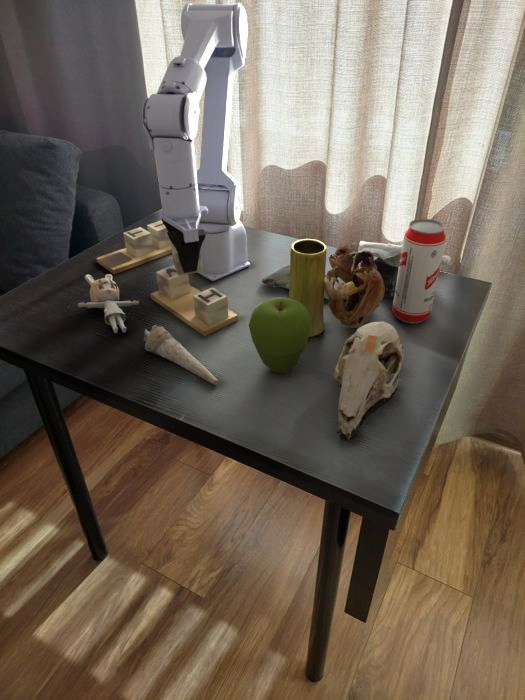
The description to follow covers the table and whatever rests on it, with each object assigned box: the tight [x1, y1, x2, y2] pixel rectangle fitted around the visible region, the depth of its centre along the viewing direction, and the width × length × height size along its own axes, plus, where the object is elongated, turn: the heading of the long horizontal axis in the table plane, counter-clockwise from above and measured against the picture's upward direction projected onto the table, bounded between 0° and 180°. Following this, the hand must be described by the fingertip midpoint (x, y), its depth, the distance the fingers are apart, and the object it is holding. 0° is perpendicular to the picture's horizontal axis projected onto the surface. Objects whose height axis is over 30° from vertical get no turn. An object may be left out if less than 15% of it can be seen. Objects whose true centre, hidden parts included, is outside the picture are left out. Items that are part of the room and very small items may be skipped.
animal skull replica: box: [333, 320, 404, 441], centre depth 68 cm, size 8×17×10 cm, turn 154°
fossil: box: [261, 264, 348, 300], centre depth 95 cm, size 11×5×15 cm
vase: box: [288, 238, 327, 338], centre depth 81 cm, size 6×6×14 cm
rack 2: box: [150, 264, 239, 337], centre depth 89 cm, size 16×7×5 cm, turn 42°
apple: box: [248, 296, 311, 374], centre depth 74 cm, size 9×8×12 cm
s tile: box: [171, 243, 202, 275], centre depth 85 cm, size 4×4×4 cm
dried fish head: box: [325, 242, 385, 329], centre depth 86 cm, size 21×9×10 cm, turn 169°
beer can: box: [391, 218, 447, 325], centre depth 83 cm, size 6×6×16 cm
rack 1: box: [96, 220, 172, 275], centre depth 106 cm, size 16×7×5 cm, turn 132°
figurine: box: [357, 239, 454, 268], centre depth 101 cm, size 7×4×18 cm
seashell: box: [143, 324, 219, 386], centre depth 78 cm, size 4×7×15 cm
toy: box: [77, 273, 140, 334], centre depth 89 cm, size 10×5×15 cm
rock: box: [374, 253, 401, 298], centre depth 93 cm, size 8×7×10 cm
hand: (187, 264), depth 86 cm, fingers closed on s tile, 4 cm apart
